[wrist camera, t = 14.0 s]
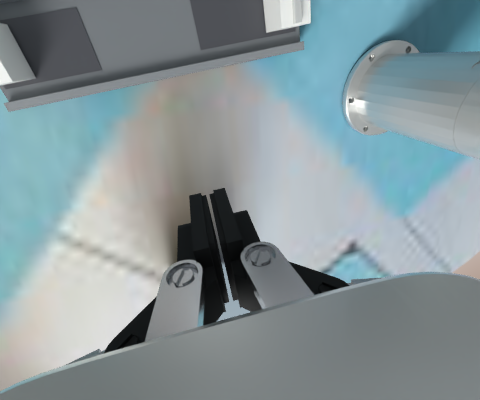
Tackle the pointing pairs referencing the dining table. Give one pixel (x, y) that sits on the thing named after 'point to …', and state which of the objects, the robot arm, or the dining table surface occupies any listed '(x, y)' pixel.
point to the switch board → (131, 43)
